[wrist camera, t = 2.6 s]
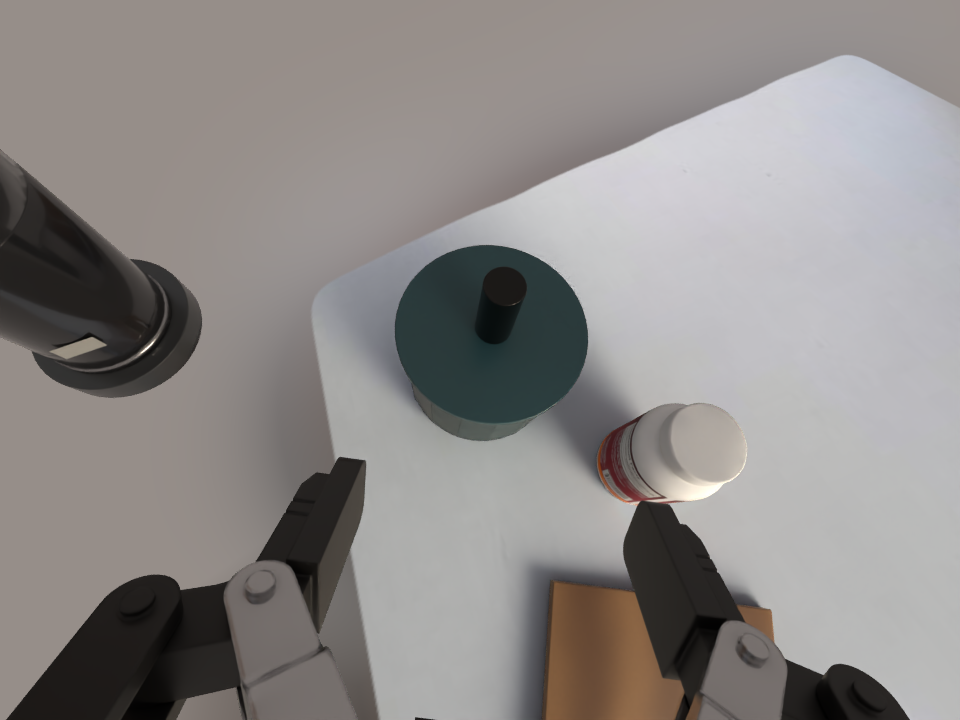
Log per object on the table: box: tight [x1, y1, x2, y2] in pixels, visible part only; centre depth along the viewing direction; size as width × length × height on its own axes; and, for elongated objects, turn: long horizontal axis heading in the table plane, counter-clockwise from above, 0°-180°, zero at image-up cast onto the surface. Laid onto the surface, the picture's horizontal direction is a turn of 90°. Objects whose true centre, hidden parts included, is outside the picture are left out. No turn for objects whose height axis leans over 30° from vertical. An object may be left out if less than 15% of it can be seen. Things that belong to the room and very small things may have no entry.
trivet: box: [542, 580, 774, 720], centre depth 30 cm, size 16×14×1 cm
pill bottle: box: [597, 403, 747, 506], centre depth 31 cm, size 6×6×11 cm
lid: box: [395, 245, 588, 425], centre depth 27 cm, size 13×13×7 cm
